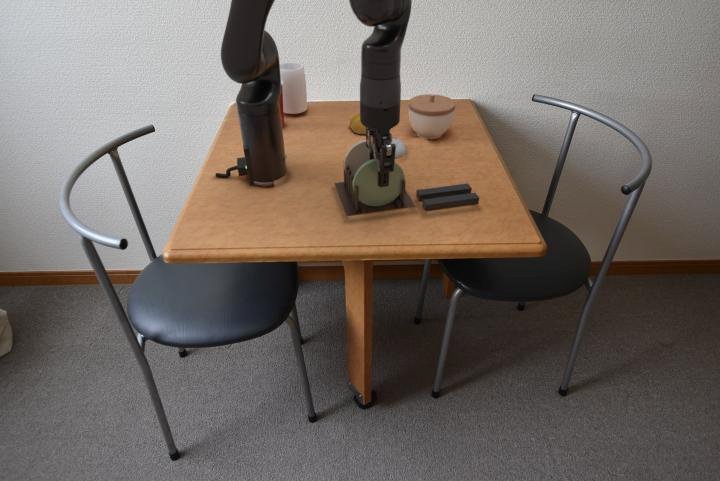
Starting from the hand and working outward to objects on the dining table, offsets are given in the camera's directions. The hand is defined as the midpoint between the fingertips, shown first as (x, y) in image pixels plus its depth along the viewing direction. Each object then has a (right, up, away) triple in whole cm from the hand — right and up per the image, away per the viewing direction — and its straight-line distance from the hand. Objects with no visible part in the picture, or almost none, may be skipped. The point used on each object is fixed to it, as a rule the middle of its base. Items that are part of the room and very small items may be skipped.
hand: (378, 177), depth 98 cm
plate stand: (+15, -5, +6) cm, 17 cm away
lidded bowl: (+16, +17, +36) cm, 43 cm away
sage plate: (0, -5, +4) cm, 7 cm away
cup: (-24, +27, +49) cm, 61 cm away
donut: (+3, +9, +26) cm, 27 cm away
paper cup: (-29, +20, +41) cm, 54 cm away
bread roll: (-3, +19, +39) cm, 44 cm away
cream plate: (-2, 0, +11) cm, 11 cm away
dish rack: (-1, -4, +8) cm, 9 cm away
